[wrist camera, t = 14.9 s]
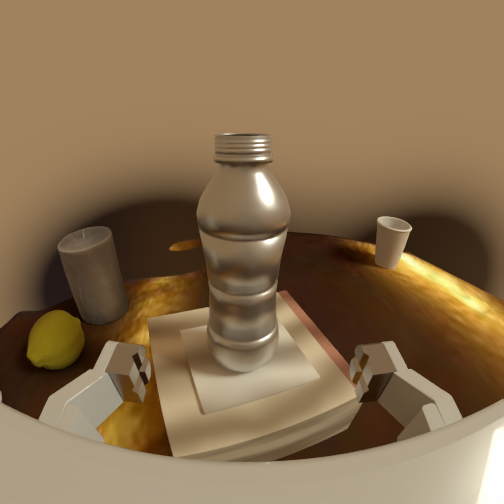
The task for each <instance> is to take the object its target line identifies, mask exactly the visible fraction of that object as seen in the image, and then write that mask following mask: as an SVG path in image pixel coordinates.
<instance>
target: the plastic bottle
mask: <svg viewBox="0 0 504 504" xmlns="http://www.w3.org/2000/svg"><path fill="white" fill-rule="evenodd" d="M272 161H273V155H272V154H271V135H269V134H257V133H231V134H217V135H215V154H214V162H216V163H219V166H218V171H217V173H216V174H215V175H214V177H213V178H212V179H211V181H210V182H209V184H208V185H207V187H206V189H205V190H204V192H203V194H202V196H201V198H200V201H199V205H198V208H197V218H198V226H199V230H200V235H201V240H202V245H203V250H204V254H205V258H206V266H207V274H208V278H209V279H208V282H209V290H210V294H209V319H208V324H207V333H206V342H207V345H208V348H209V351H210V353H211V356H212V357H213V359H214V360H215V361H216V362H217V363H218V364H220V365H221V366H223V367H225V368H226V369H229V370H231V371H236V372H250V371H254V370H256V369H259V368H261V367H262V366H264V365H265V364H267V363H268V362H269V361H270V360H271V359H272V358H273V356H274V354H275V352H276V349H277V346H278V343H279V329H278V322H277V318H276V288H277V282H278V281H277V278H278V274H279V267H280V260H281V255H282V251H283V247H284V243H285V238H286V234H287V230H288V225H289V220H290V214H291V212H290V208H289V203H288V199H287V197H286V195H285V193H284V191H283V190H282V188H281V186H280V185H279V183H278V182H277V181H276V179H275V178H274V177H273V175H272V174H271V172H270V171H269V168H268V163H271V162H272Z"/></svg>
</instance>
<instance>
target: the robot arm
mask: <svg viewBox="0 0 504 504" xmlns="http://www.w3.org/2000/svg"><path fill="white" fill-rule="evenodd" d="M145 354H146V350H145V347H144V346H143V345H137V344H129V343H122V342H115V341H108V342H107V343H106V344H105V346H104V348H103V350H102V352H101V354H100V356H99V358H98V360H97V362H96V364H95V366H94V368H93V370H91V369H90V370H88V371H87V372H85V373H84V374H82V375H81V376H79V377H78V378H76V379H75V380H73V381H72V382H70V383H69V384H67V385H66V386H64V387H63V388H61V389H60V390H58V391H57V392H55V393H54V394H52V395H51V396H50V397H49V399H48V401H47V403H46V405H45V407H44V409H43V411H42V413H41V415H40V418H39V420H37V419H34V418H32V417H30V416H28V415H25V414H23V413H21V412H19V411H17V410H15V409H13V408H11V407H9V406H7V405H5V404H3V403H1V402H0V504H504V399H502V400H500V401H498V402H496V403H494V404H492V405H491V406H489V407H487V408H485V409H483V410H481V411H478V412H476V413H474V414H472V415H470V416H468V417H465V418H462V416H461V414H460V412H459V410H458V408H457V406H456V404H455V402H454V400H453V398H452V396H451V395H449V394H448V393H446V392H445V391H443V390H442V389H440V388H439V387H437V386H436V385H434V384H433V383H431V382H430V381H428V380H427V379H425V378H424V377H422V376H421V375H419V374H418V373H416V372H415V371H413V370H412V369H408V368H407V366H406V364H405V362H404V360H403V358H402V356H401V355H400V353H399V351H398V349H397V347H396V345H395V343H394V342H393V341H388V342H381V343H372V344H364V345H358V346H357V347H356V349H355V354H356V356H355V357H354V358H353V359H352V361H351V364H350V377H351V381H352V382H353V383H354V384H356V385H357V386H356V388H355V393H356V397H357V400H358V403H363V402H370V401H376V400H378V402H379V403H380V404H381V405H382V406H383V407H384V408H385V409H386V410H387V411H388V412H389V413H390V414H391V415H392V416H393V417H394V418H396V419H397V420H398V421H399V422H400V423H401V424H402V425H403V426H404V427H405V429H404V430H403V431H402V432H401V433H400V435H399V436H398V437H397V440H398V442H395V443H391V444H388V445H384V446H380V447H375V448H371V449H367V450H362V451H357V452H352V453H346V454H340V455H334V456H327V457H320V458H312V459H302V460H290V461H273V462H224V461H207V460H195V459H185V458H177V457H170V456H163V455H157V454H151V453H145V452H140V451H135V450H131V449H126V448H122V447H117V446H113V445H110V444H106V443H104V438H103V436H102V435H101V434H100V433H99V432H98V431H97V429H96V428H97V427H98V426H99V425H100V424H101V423H102V422H103V421H104V420H105V419H106V418H107V417H108V416H109V415H110V414H112V413H113V412H114V411H115V410H116V409H117V408H118V407H119V406H120V405H121V404H122V403H123V401H128V402H135V403H142V404H143V401H144V397H145V394H146V388H145V386H144V385H146V384H147V383H148V382H149V380H150V376H151V365H150V361H149V359H148V358H147V357H145Z"/></svg>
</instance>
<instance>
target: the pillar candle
mask: <svg viewBox="0 0 504 504" xmlns="http://www.w3.org/2000/svg"><path fill="white" fill-rule="evenodd" d="M58 251H59V254H60V257H61V261H62V264H63V267H64V270H65V273H66V277H67V280H68V282H69V286H70V288H71V291H72V294H73V297H74V299H75V302H76V305H77V307H78V310H79V312H80V315H81V317H82V318H83V320H84V321H85V322H87V323H89V324H93V325H102V324H107V323H110V322H112V321H114V320H116V319H118V318H120V317H121V316H123V315H124V313H126V311H127V310H128V307H129V300H128V298H127V295H126V292H125V287H124V284H123V279H122V276H121V272H120V268H119V263H118V259H117V255H116V250H115V246H114V241H113V237H112V232H111V230H110V229H109V228H107V227H100V226H99V227H89V228H85V229H81V230H79V231H76V232H74V233H72V234H69V235H68V236H66V237H64V238H63V239H62V240H61V242H59V244H58Z"/></svg>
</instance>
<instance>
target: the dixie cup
mask: <svg viewBox="0 0 504 504" xmlns="http://www.w3.org/2000/svg"><path fill="white" fill-rule="evenodd" d="M377 223H378V224H377V225H378V226H377V241H376V251H375V263H376V264H377V265H378V266H380V267H382V268H386V269H394V268H396V267H397V264H398V262H399V260H400V257H401V254H402V252H403V249H404V247H405V244H406V241H407V238H408V235H409V233H410V231H411V230H412V227H411V225H410V224H408V223H407V222H405V221H403V220H401V219H398V218H394V217H380V218H378V219H377Z"/></svg>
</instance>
